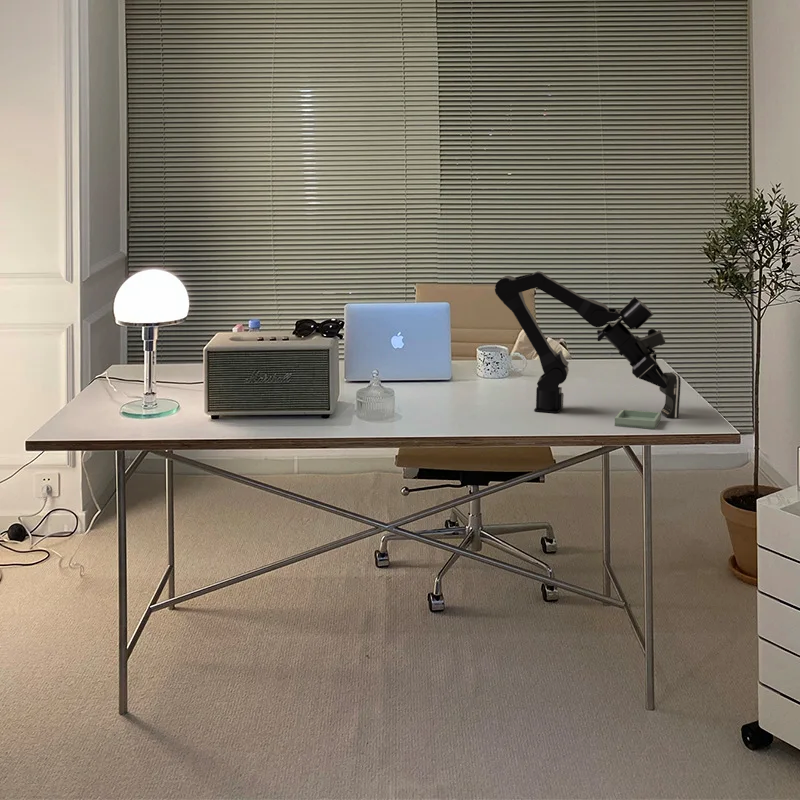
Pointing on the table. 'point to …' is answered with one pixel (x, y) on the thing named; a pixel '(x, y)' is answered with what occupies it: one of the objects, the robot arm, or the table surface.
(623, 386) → the table surface
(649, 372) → the robot arm
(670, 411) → the dark grey curved piece
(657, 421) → the tray
